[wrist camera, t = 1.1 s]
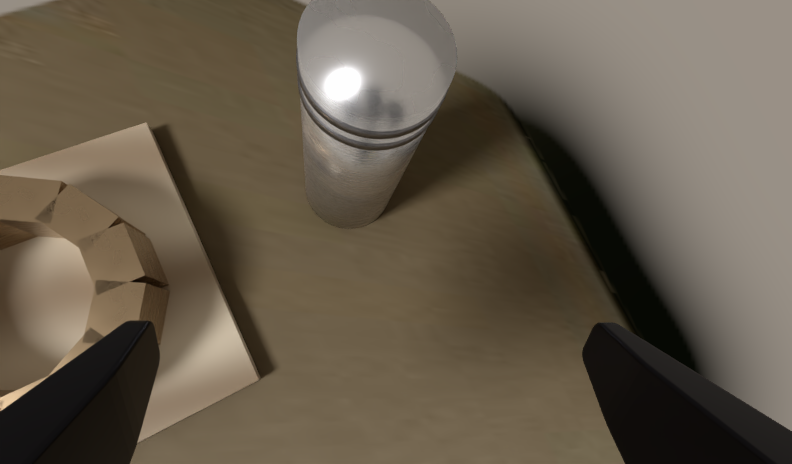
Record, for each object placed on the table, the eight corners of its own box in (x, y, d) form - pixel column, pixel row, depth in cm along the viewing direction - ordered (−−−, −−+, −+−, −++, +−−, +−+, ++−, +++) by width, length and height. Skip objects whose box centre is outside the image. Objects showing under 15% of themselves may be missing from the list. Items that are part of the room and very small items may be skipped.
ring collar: (201, 361, 20) (182, 365, 17) (-59, 488, 17) (-135, 518, 14) (120, 168, 21) (89, 141, 18) (-132, 256, 18) (-214, 240, 15)
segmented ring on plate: (260, 378, 21) (258, 380, 20) (-83, 556, 17) (-102, 566, 16) (152, 129, 23) (146, 122, 22) (-178, 239, 19) (-199, 235, 18)
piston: (404, 208, 24) (486, 87, 13) (327, 243, 23) (340, 143, 11) (367, 137, 25) (413, -40, 13) (290, 167, 23) (267, -1, 12)
